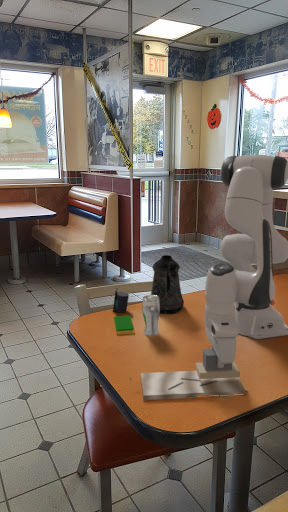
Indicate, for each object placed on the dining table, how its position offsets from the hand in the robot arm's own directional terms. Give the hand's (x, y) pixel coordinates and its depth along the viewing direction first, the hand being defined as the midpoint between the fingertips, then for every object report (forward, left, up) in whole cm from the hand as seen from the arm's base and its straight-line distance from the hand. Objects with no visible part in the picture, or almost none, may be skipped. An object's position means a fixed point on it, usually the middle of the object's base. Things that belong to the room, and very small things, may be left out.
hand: (217, 362), depth 116 cm
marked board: (+8, 0, -8) cm, 11 cm away
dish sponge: (+28, -45, -8) cm, 54 cm away
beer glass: (+17, -38, -8) cm, 42 cm away
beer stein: (+7, -63, -8) cm, 64 cm away
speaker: (+29, -63, -8) cm, 70 cm away
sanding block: (0, 0, -4) cm, 4 cm away
